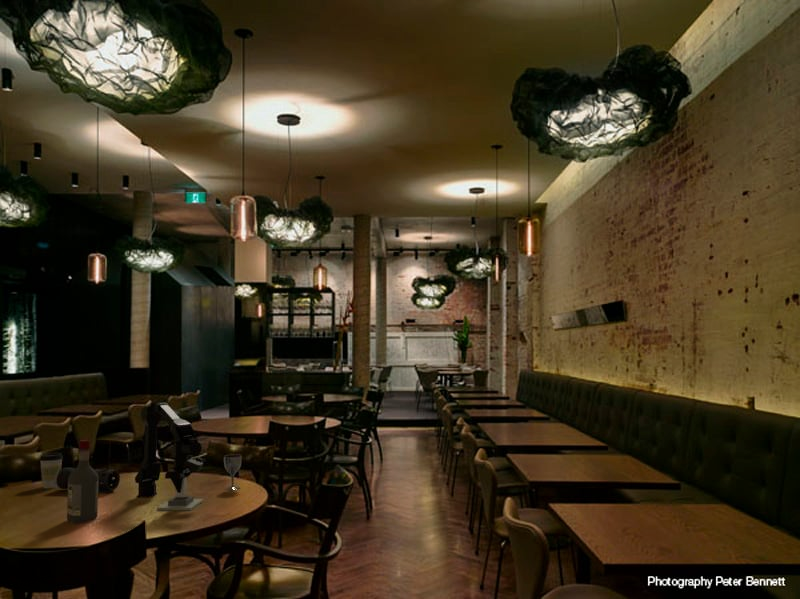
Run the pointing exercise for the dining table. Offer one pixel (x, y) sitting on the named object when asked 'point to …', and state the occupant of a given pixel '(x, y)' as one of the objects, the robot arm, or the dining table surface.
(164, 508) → the end holder
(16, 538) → the dining table surface
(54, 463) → the coffee cup
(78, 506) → the liquor
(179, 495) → the connector plug
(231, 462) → the wine glass
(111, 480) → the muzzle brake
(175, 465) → the robot arm
